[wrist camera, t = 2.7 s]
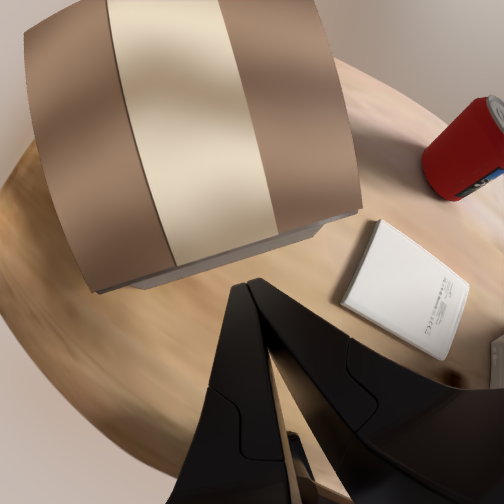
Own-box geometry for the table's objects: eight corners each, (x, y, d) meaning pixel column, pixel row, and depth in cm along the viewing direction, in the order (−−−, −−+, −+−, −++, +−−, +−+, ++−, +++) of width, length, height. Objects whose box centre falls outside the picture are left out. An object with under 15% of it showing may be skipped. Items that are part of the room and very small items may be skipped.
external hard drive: (373, 223, 24) (461, 286, 23) (337, 304, 22) (435, 360, 21) (381, 217, 22) (471, 284, 21) (344, 303, 20) (445, 361, 19)
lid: (351, 211, 15) (364, 217, 13) (102, 289, 13) (95, 302, 12) (287, -30, 9) (296, -42, 8) (34, 39, 7) (22, 32, 6)
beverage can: (459, 215, 24) (536, 171, 12) (414, 184, 24) (488, 120, 12) (462, 169, 25) (524, 120, 13) (420, 139, 26) (477, 76, 14)
